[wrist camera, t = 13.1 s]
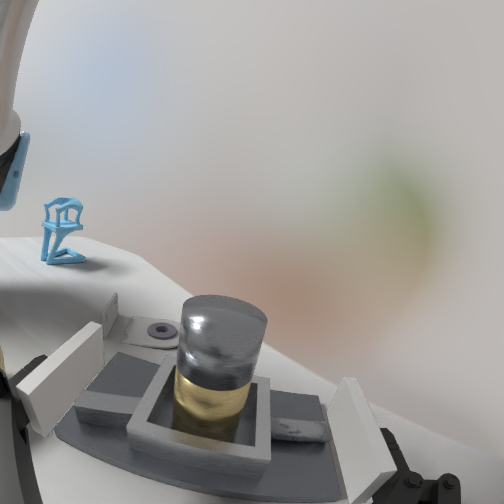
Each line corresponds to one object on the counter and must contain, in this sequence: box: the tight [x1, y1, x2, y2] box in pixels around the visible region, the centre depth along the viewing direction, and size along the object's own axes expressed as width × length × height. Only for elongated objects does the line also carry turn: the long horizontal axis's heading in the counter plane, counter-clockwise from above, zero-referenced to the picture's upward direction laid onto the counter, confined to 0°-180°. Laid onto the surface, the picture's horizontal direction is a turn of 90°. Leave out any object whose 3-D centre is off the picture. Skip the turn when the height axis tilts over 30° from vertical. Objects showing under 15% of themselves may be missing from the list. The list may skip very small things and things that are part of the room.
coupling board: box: [54, 352, 341, 503], centre depth 18 cm, size 20×12×4 cm, turn 87°
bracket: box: [101, 293, 181, 349], centre depth 31 cm, size 7×10×4 cm, turn 101°
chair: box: [41, 197, 86, 265], centre depth 43 cm, size 8×8×12 cm
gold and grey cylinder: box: [172, 295, 267, 443], centre depth 17 cm, size 5×5×10 cm
